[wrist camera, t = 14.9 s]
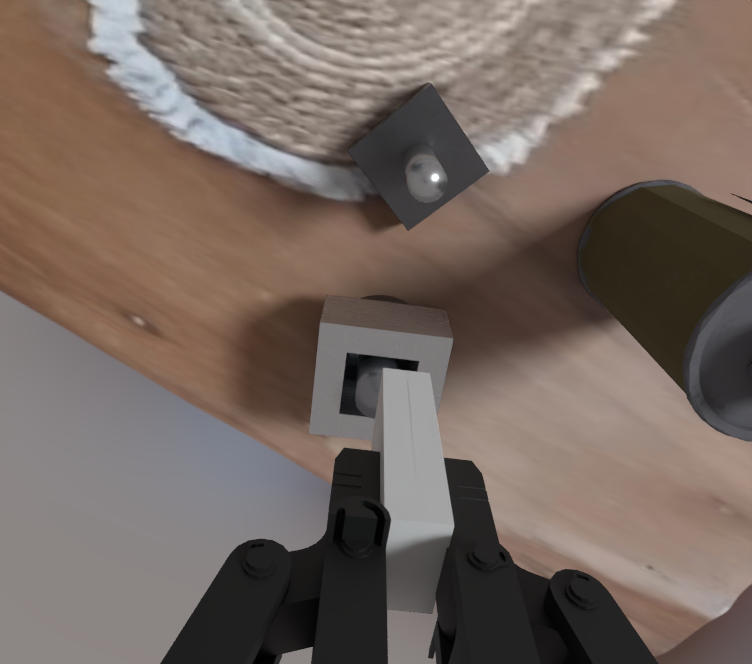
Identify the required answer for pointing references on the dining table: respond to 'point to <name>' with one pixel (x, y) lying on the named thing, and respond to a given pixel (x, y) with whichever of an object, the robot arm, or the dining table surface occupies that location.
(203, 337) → the dining table surface
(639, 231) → the canister
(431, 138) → the stand
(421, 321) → the grey square ring block
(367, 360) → the cylinder
